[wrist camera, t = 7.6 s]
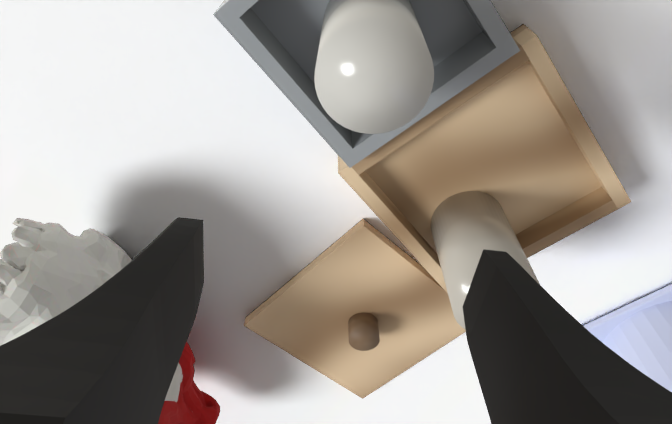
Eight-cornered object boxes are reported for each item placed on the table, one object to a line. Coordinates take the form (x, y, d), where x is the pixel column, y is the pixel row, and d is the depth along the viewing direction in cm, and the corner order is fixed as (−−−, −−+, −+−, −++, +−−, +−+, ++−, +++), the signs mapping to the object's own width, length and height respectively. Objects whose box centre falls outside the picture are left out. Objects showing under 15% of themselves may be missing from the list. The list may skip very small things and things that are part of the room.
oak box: (614, 182, 24) (631, 201, 23) (446, 276, 27) (452, 298, 26) (523, 23, 20) (536, 35, 19) (338, 154, 23) (338, 173, 22)
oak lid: (479, 312, 28) (487, 337, 27) (362, 390, 32) (363, 415, 31) (363, 218, 25) (365, 241, 24) (245, 317, 29) (240, 343, 27)
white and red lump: (58, 162, 23) (290, 321, 31) (-76, 287, 26) (162, 400, 34) (-38, 329, 16) (295, 479, 24) (-201, 467, 19) (133, 556, 28)
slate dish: (500, 30, 20) (520, 50, 18) (348, 139, 23) (349, 168, 21) (390, -154, 17) (398, -156, 15) (225, -3, 19) (213, 14, 17)
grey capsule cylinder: (516, 226, 25) (558, 309, 20) (454, 261, 26) (480, 347, 21) (480, 177, 23) (517, 255, 19) (416, 217, 24) (435, 299, 20)
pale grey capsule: (432, 34, 20) (456, 90, 15) (359, 87, 21) (361, 153, 16) (379, -45, 18) (389, -9, 14) (304, 17, 19) (289, 69, 15)
